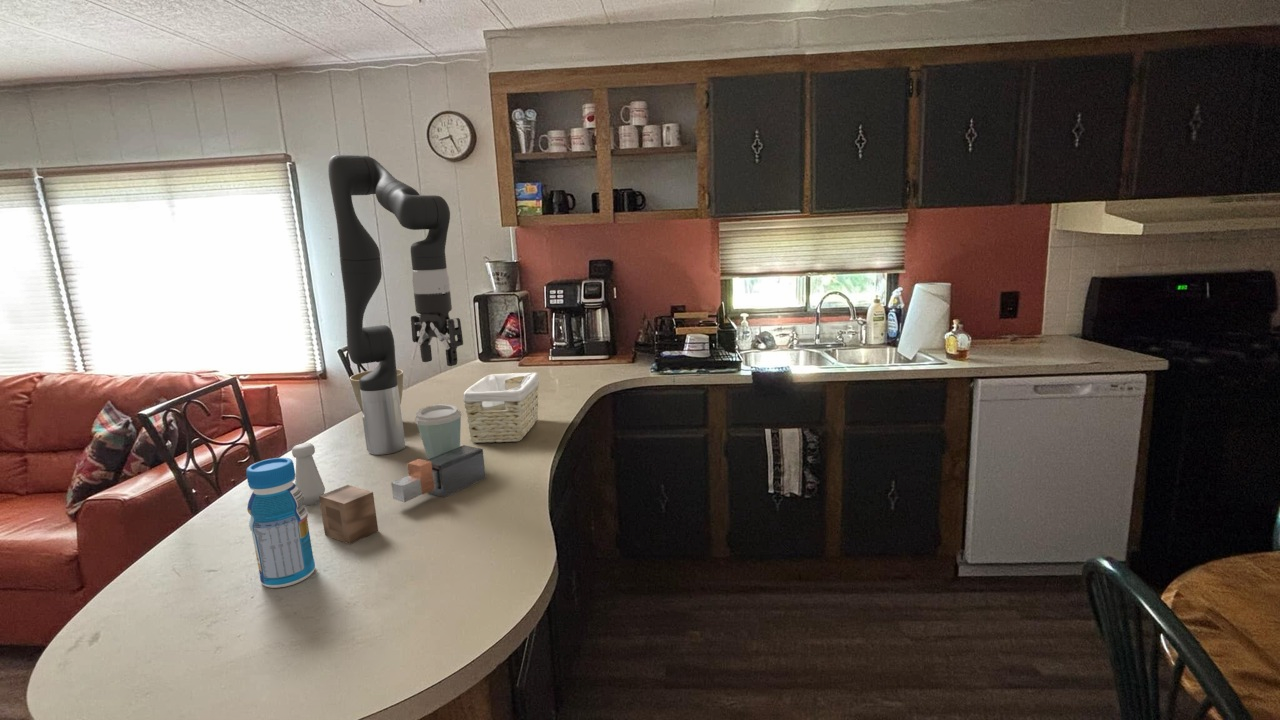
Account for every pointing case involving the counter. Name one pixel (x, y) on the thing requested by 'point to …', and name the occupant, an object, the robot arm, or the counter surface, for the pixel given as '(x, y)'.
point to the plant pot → (357, 377)
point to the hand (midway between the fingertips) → (439, 363)
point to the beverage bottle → (279, 523)
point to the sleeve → (458, 469)
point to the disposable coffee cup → (439, 428)
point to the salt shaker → (307, 474)
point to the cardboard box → (348, 513)
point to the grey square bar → (416, 481)
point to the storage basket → (502, 407)
